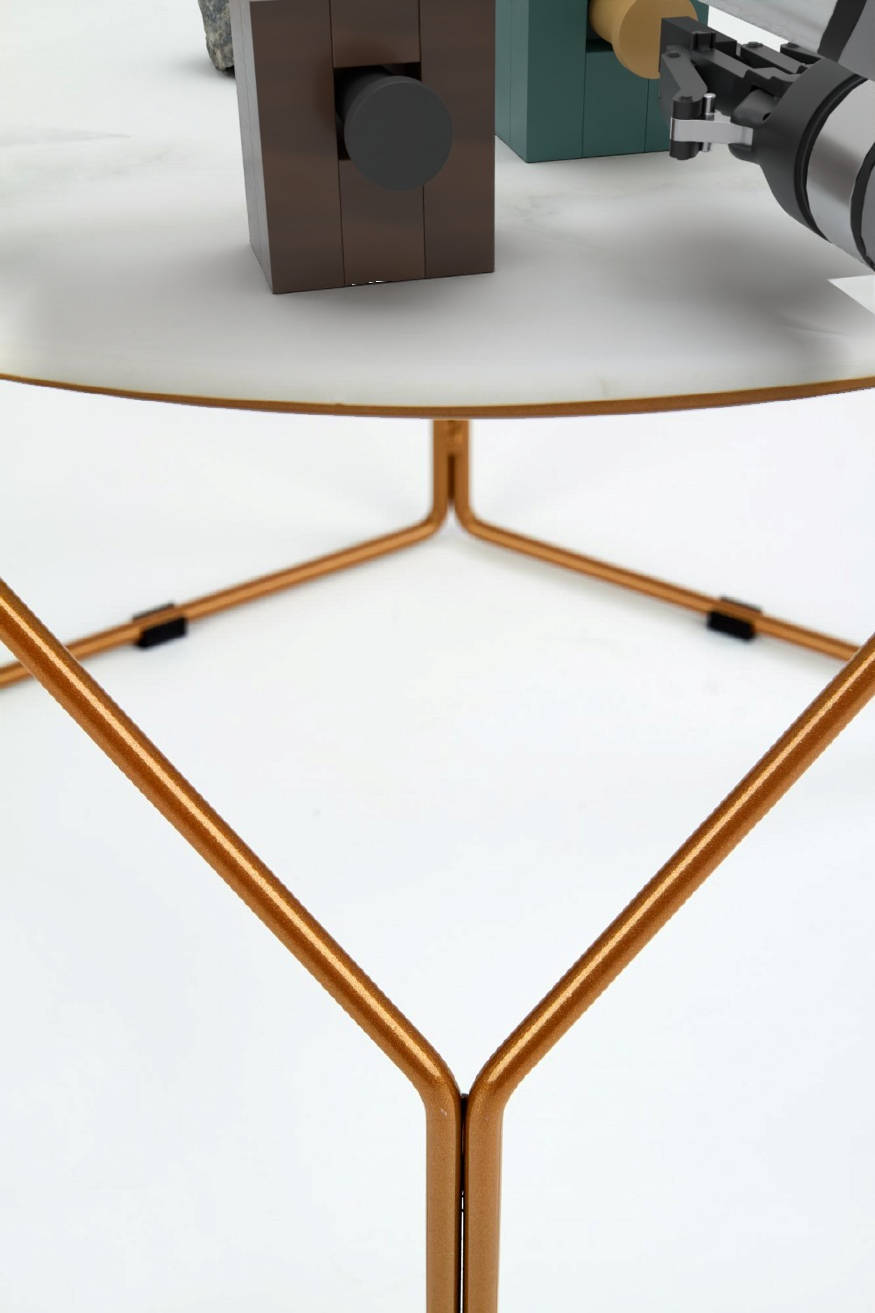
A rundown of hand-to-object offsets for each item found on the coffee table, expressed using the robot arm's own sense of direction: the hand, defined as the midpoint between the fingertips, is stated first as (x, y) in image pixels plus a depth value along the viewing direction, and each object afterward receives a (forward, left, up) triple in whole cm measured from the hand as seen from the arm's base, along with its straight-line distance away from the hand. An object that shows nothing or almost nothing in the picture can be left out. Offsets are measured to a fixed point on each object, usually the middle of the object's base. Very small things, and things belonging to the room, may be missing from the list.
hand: (673, 44), depth 80 cm
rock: (-41, +5, -8) cm, 42 cm away
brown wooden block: (-4, -19, -8) cm, 20 cm away
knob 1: (0, -21, -2) cm, 21 cm away
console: (-11, +6, -8) cm, 15 cm away
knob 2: (-5, +3, -2) cm, 6 cm away
